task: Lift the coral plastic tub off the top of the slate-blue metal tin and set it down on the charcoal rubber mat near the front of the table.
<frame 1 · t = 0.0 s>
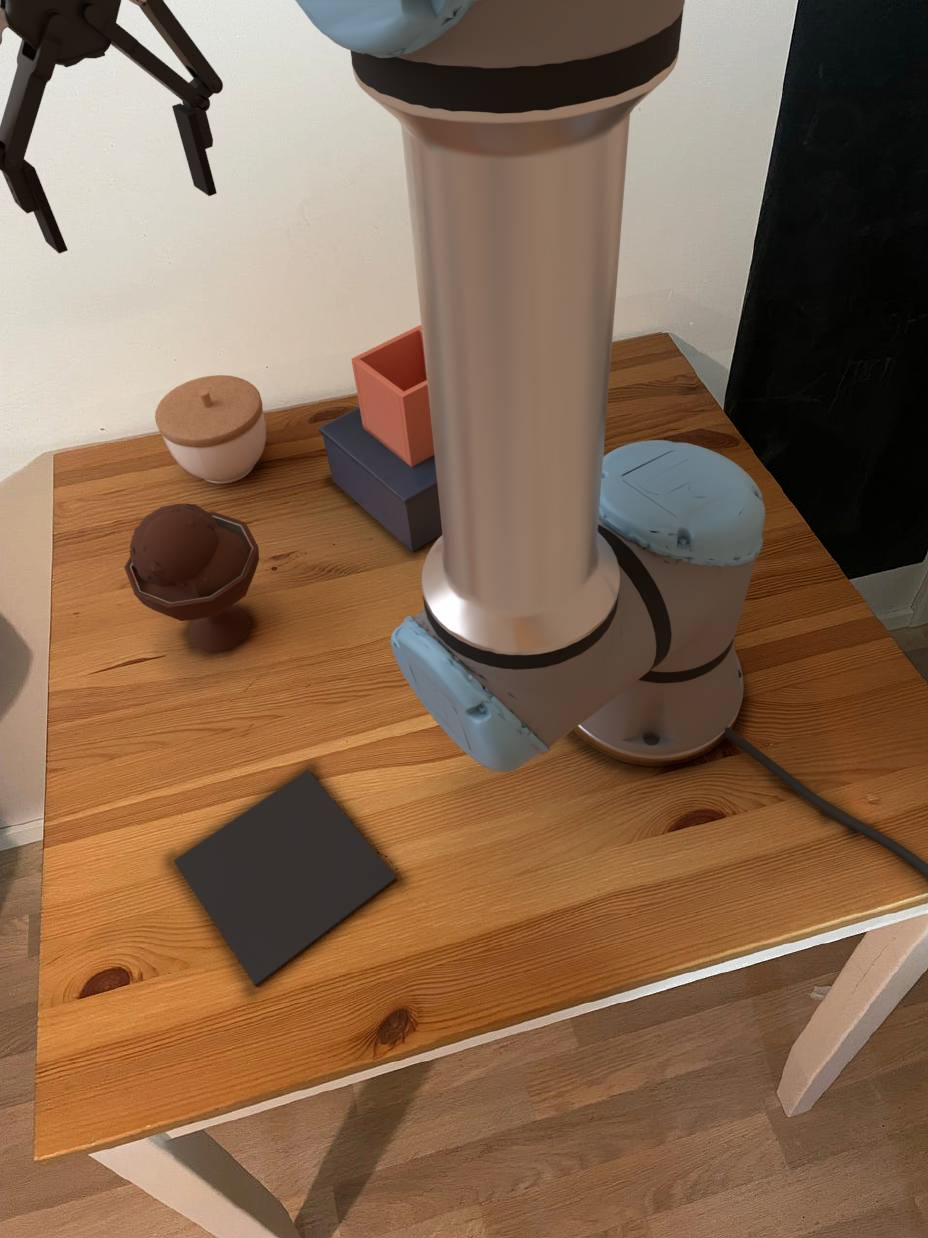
hand: (133, 217, 77), 28 cm above the table, tool pointing down, fingers open, 13 cm apart
mat: (284, 871, 68), on the table
tin: (425, 483, 95), on the table, touching tub
trinket box: (227, 466, 99), on the table
tub: (419, 429, 90), point 7 cm above the table, touching tin
ice cream bowl: (221, 630, 84), on the table
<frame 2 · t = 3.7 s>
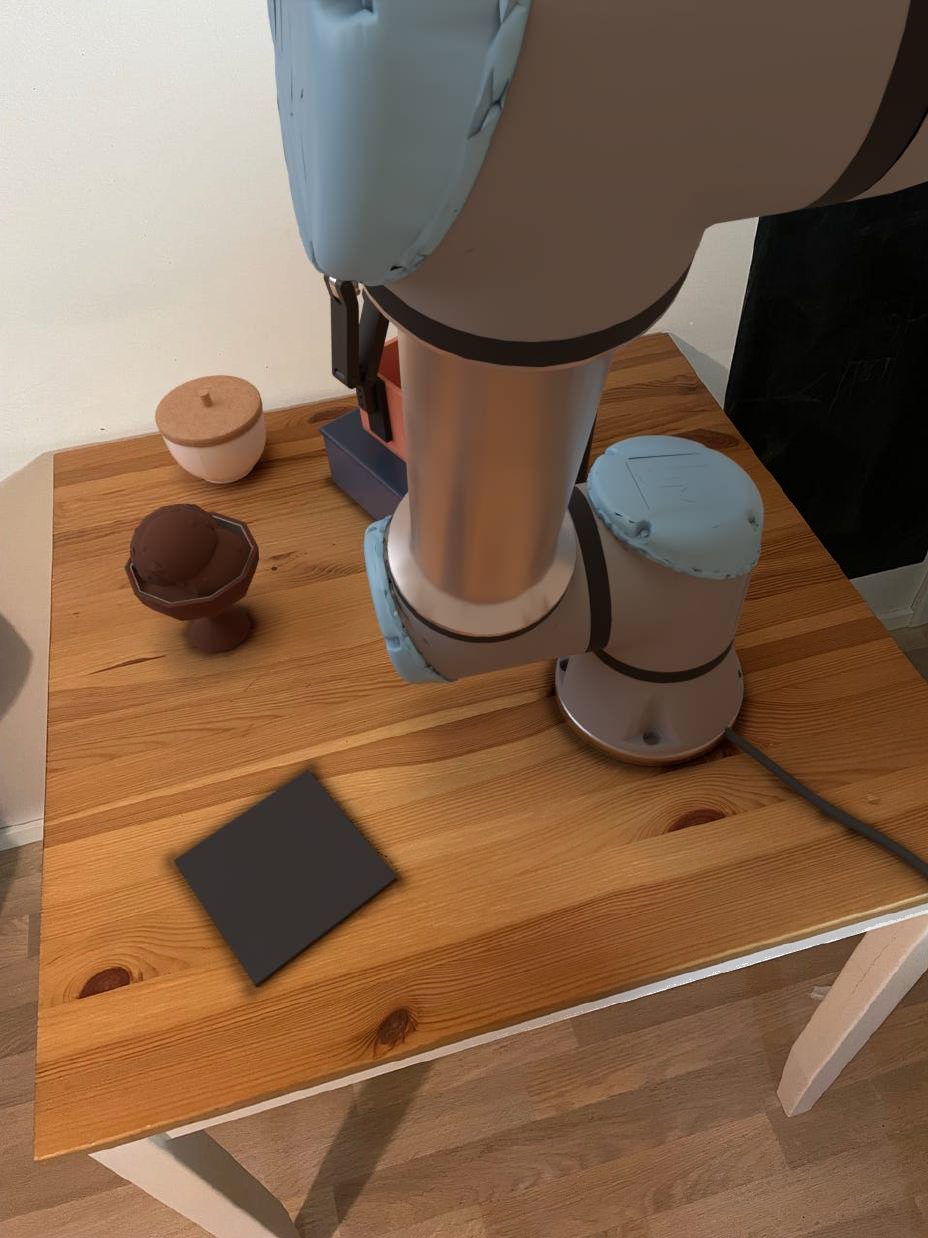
hand: (418, 414, 89), 9 cm above the table, tool pointing down, fingers closed on tub, 8 cm apart
tub: (419, 429, 90), point 7 cm above the table, touching gripper, tin
everything else where it was.
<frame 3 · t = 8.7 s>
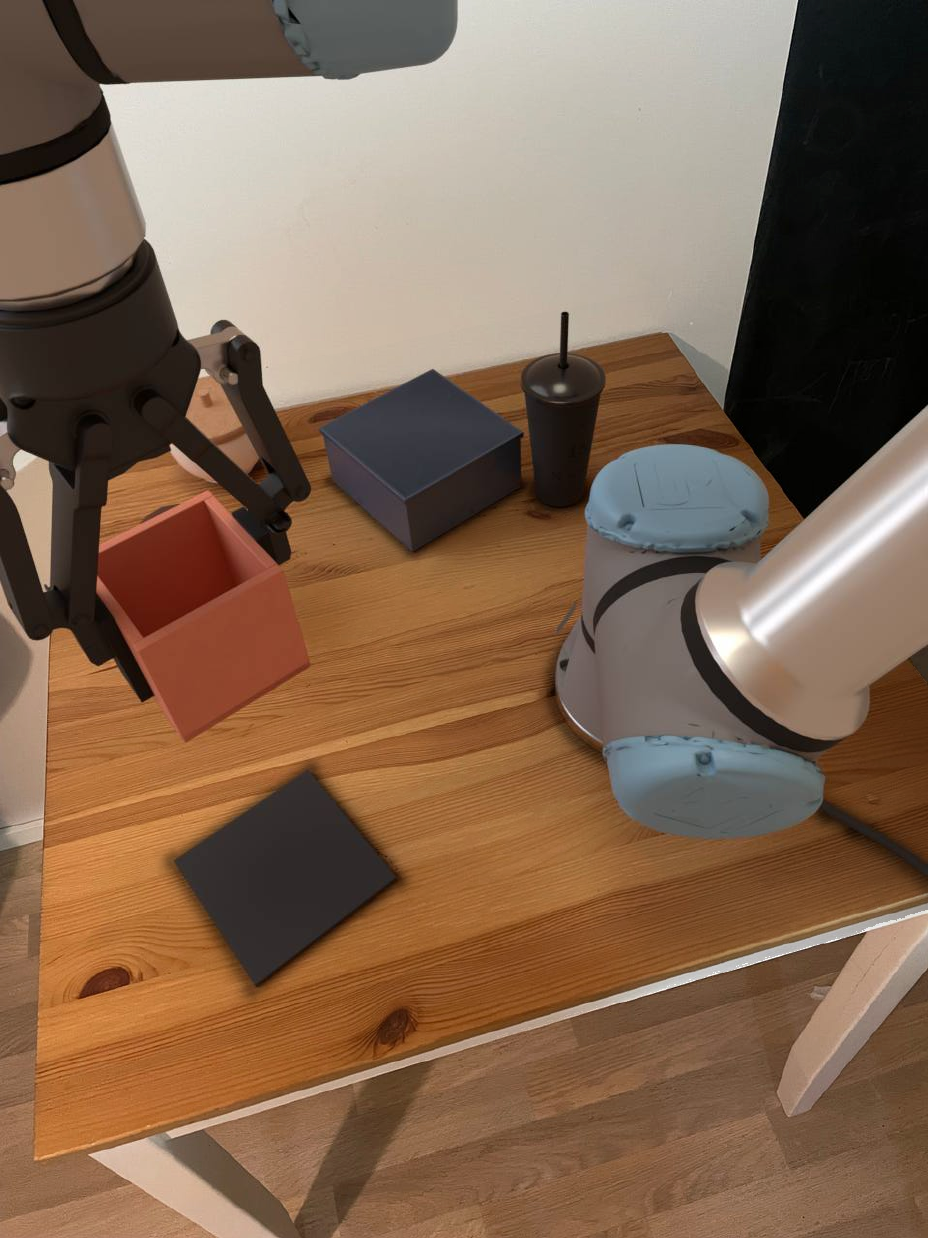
hand: (208, 642, 52), 24 cm above the table, tool pointing down, fingers closed on tub, 8 cm apart
tin: (425, 483, 95), on the table
tub: (215, 660, 53), point 22 cm above the table, touching gripper
everything else where it was.
when the fingers open (2 cm above the table, at t = 14.0 s): tub stays where it is, resting on mat.
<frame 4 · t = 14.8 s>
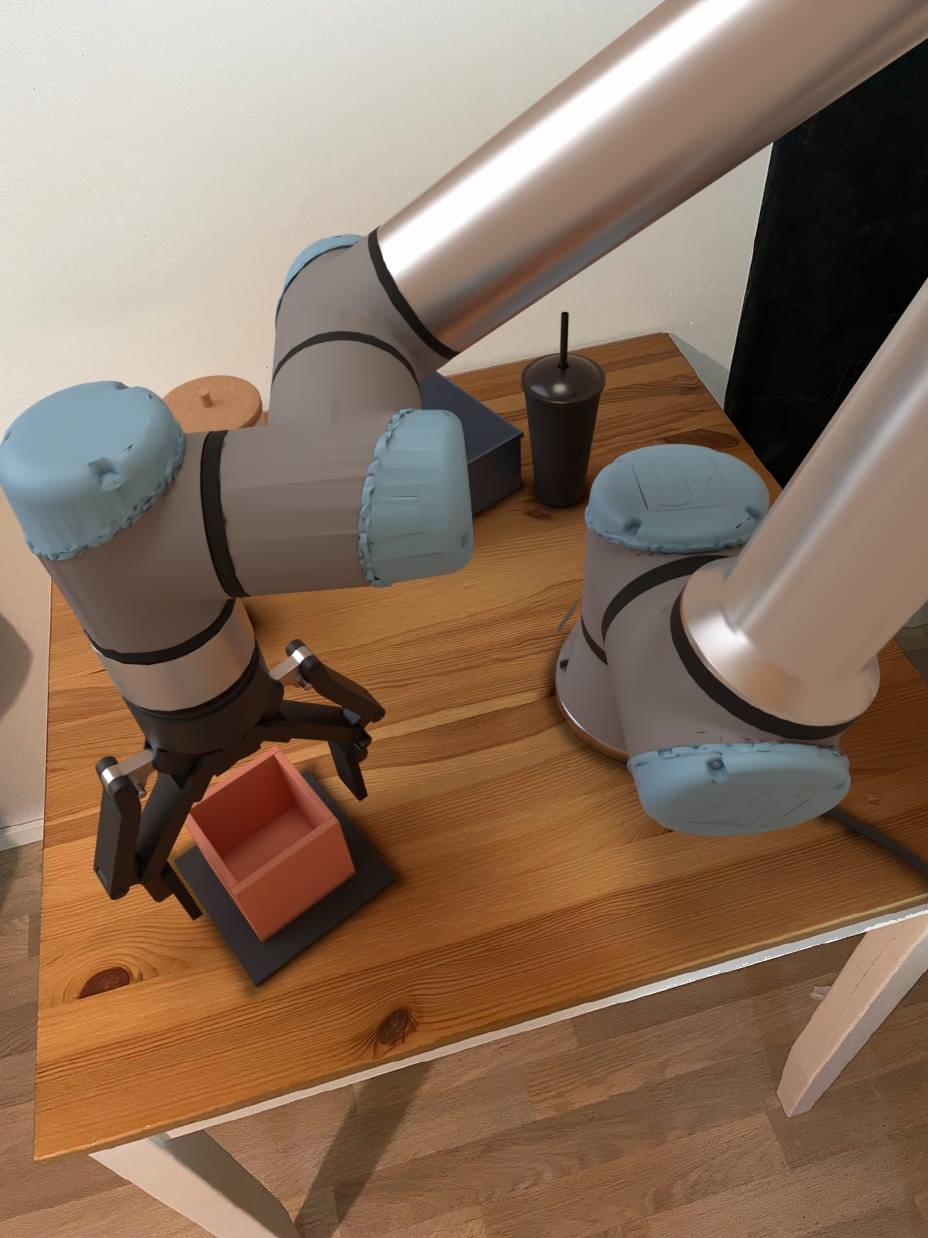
hand: (274, 843, 65), 4 cm above the table, tool pointing down, fingers open, 13 cm apart
tub: (281, 867, 68), resting on mat
everything else where it was.
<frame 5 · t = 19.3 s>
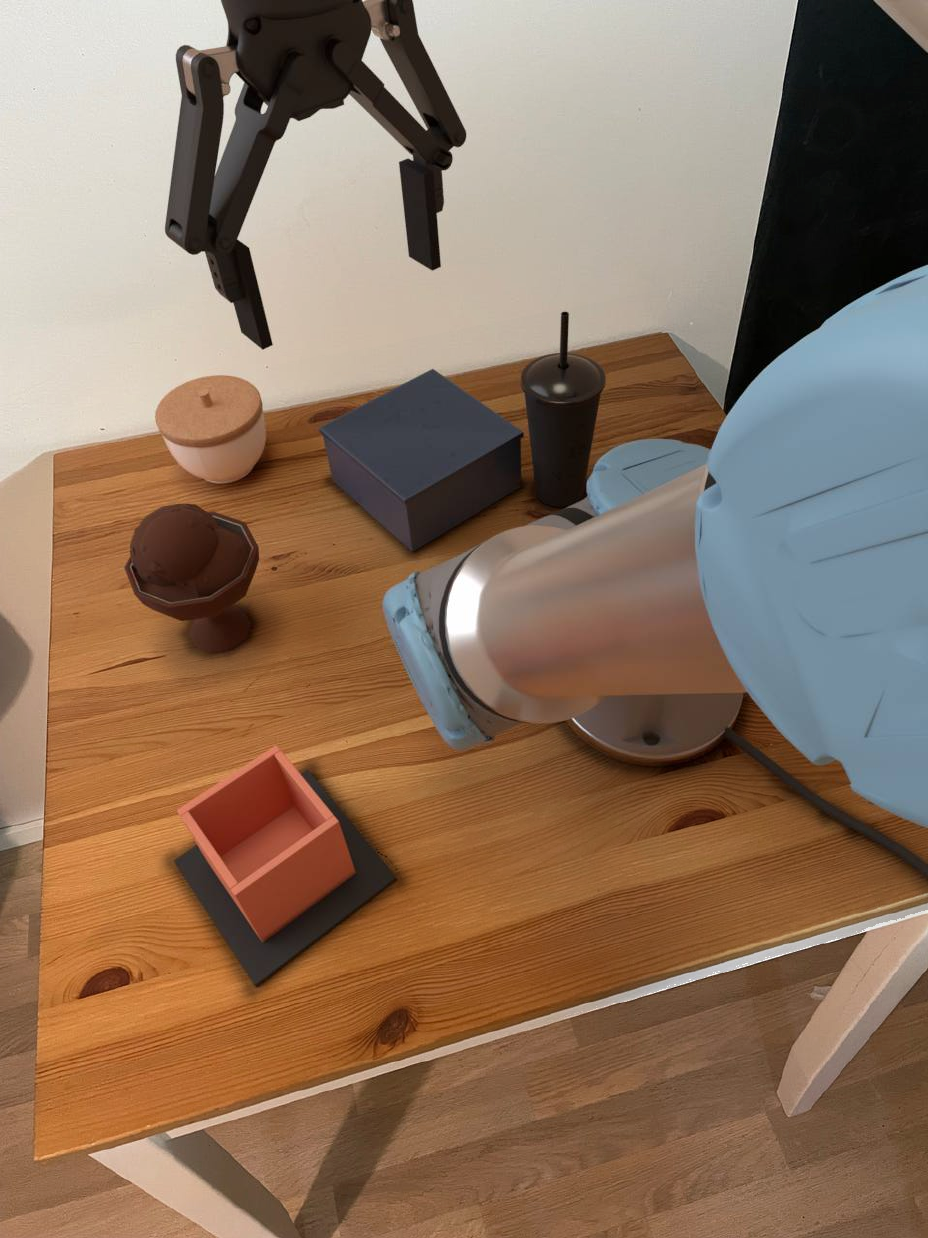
hand: (344, 299, 62), 31 cm above the table, tool pointing down, fingers open, 13 cm apart
nothing on the table moved.
at the end: tub inside the target area on the mat (0.2 cm from its centre), point 0.4 cm above the mat's base; tub tilted 0°; tub touching mat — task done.
